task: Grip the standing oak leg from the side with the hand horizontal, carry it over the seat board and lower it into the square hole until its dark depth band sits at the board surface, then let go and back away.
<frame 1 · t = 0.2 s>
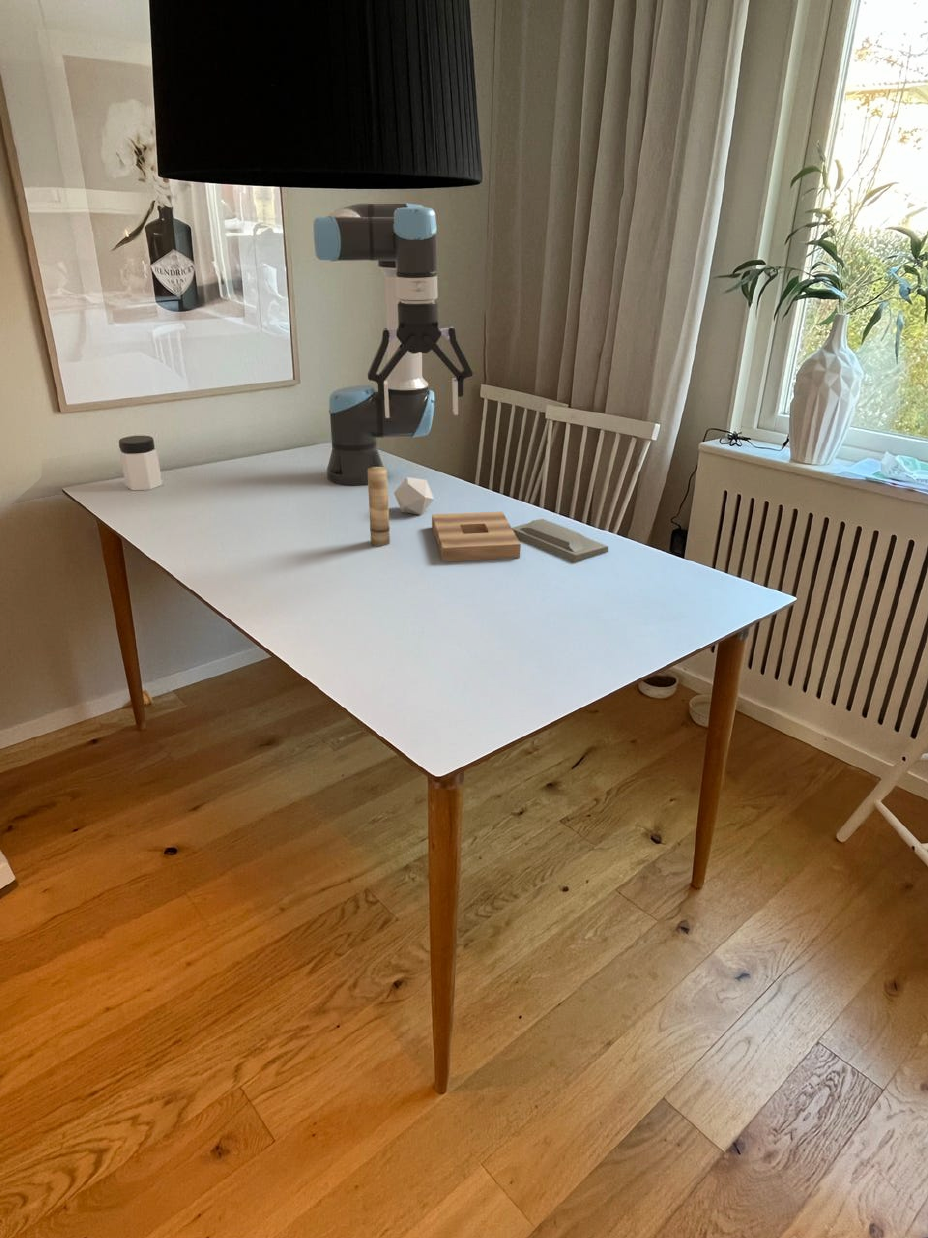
hand: (421, 414, 158), 27 cm above the table, tool pointing down, fingers open, 13 cm apart
seat board: (474, 541, 171), on the table
die: (414, 512, 188), on the table
oak leg: (380, 542, 170), on the table
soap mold: (557, 546, 171), on the table
jar: (144, 486, 204), on the table
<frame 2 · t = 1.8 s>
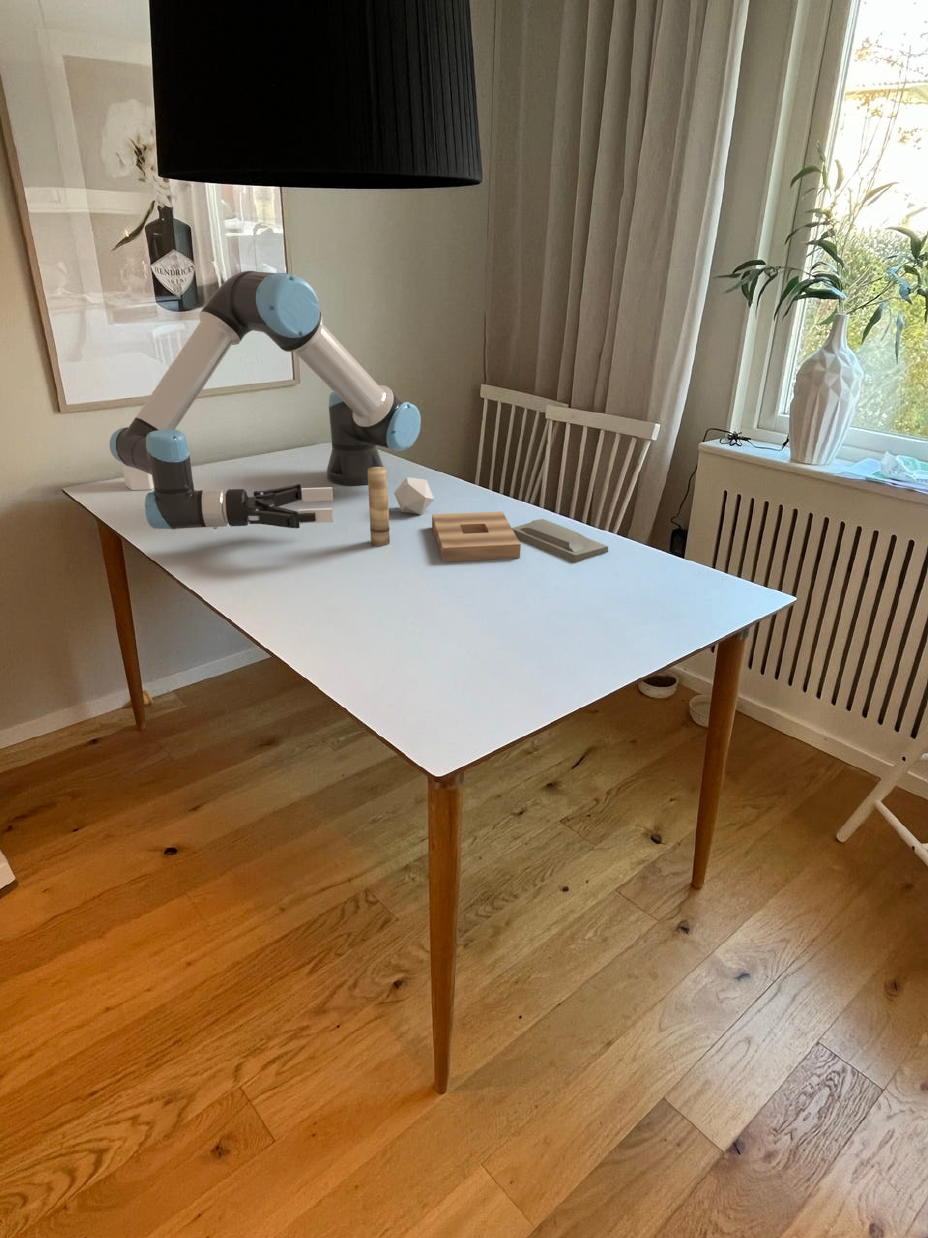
hand: (332, 504, 165), 9 cm above the table, tool horizontal, fingers open, 13 cm apart
nothing on the table moved.
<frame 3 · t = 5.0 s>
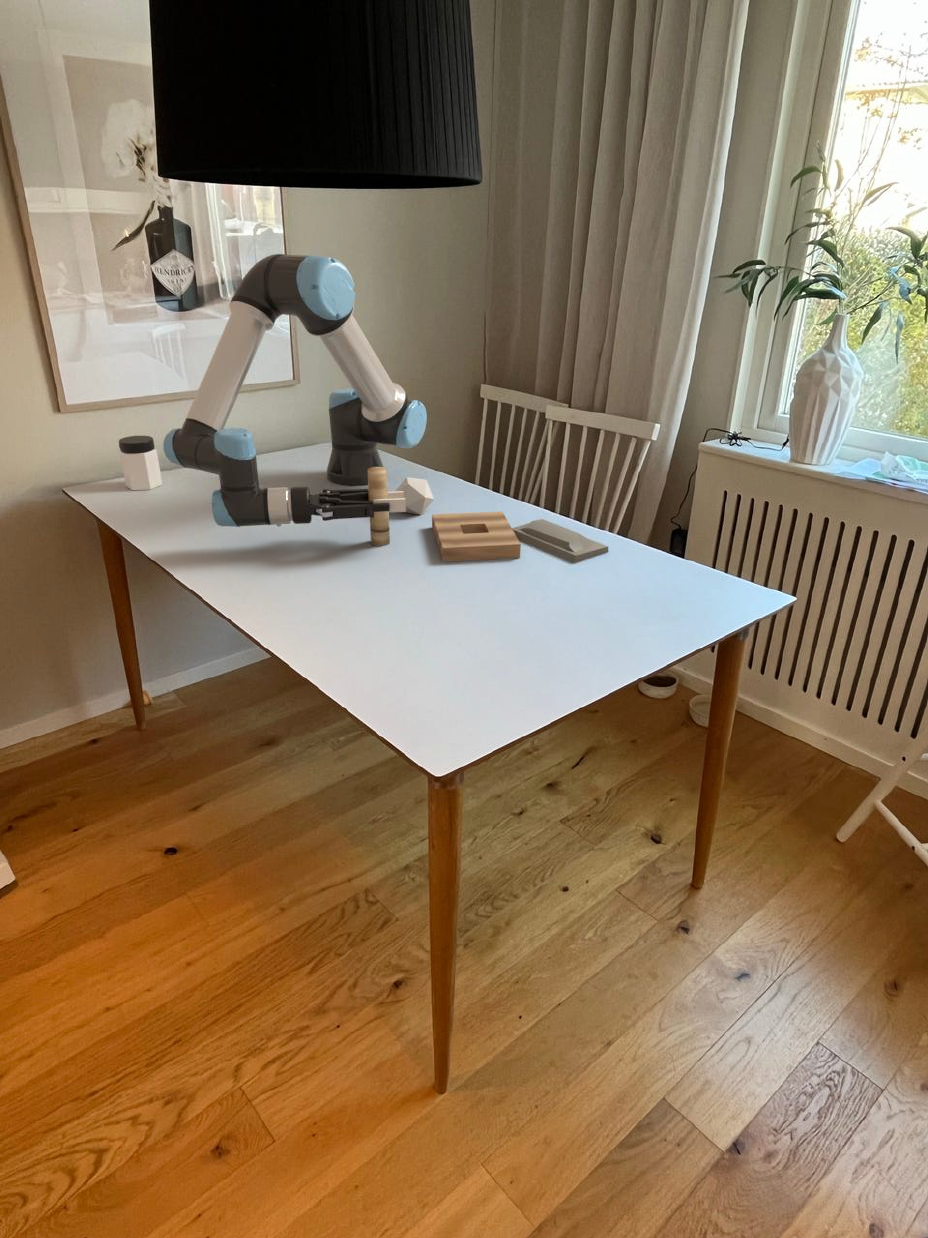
hand: (404, 501, 167), 9 cm above the table, tool horizontal, fingers closed on oak leg, 4 cm apart
oak leg: (380, 542, 170), on the table, touching gripper
everything else where it was.
when the fingers open (10 cm above the table, at t = 9.1 s): oak leg stays where it is, resting in seat board.
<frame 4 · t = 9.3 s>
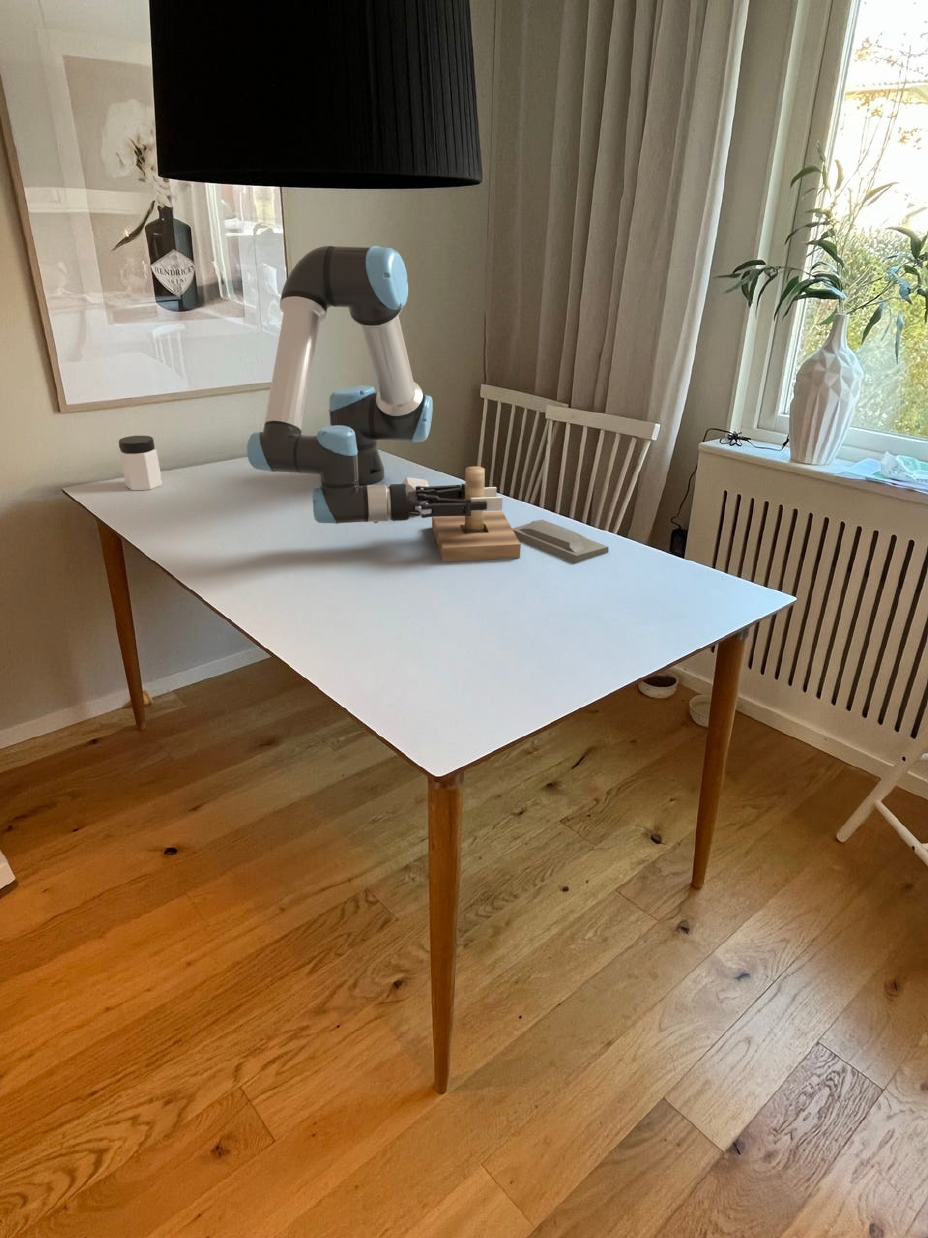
hand: (498, 498, 167), 10 cm above the table, tool horizontal, fingers open, 6 cm apart
oak leg: (473, 541, 171), resting in seat board
everything else where it was.
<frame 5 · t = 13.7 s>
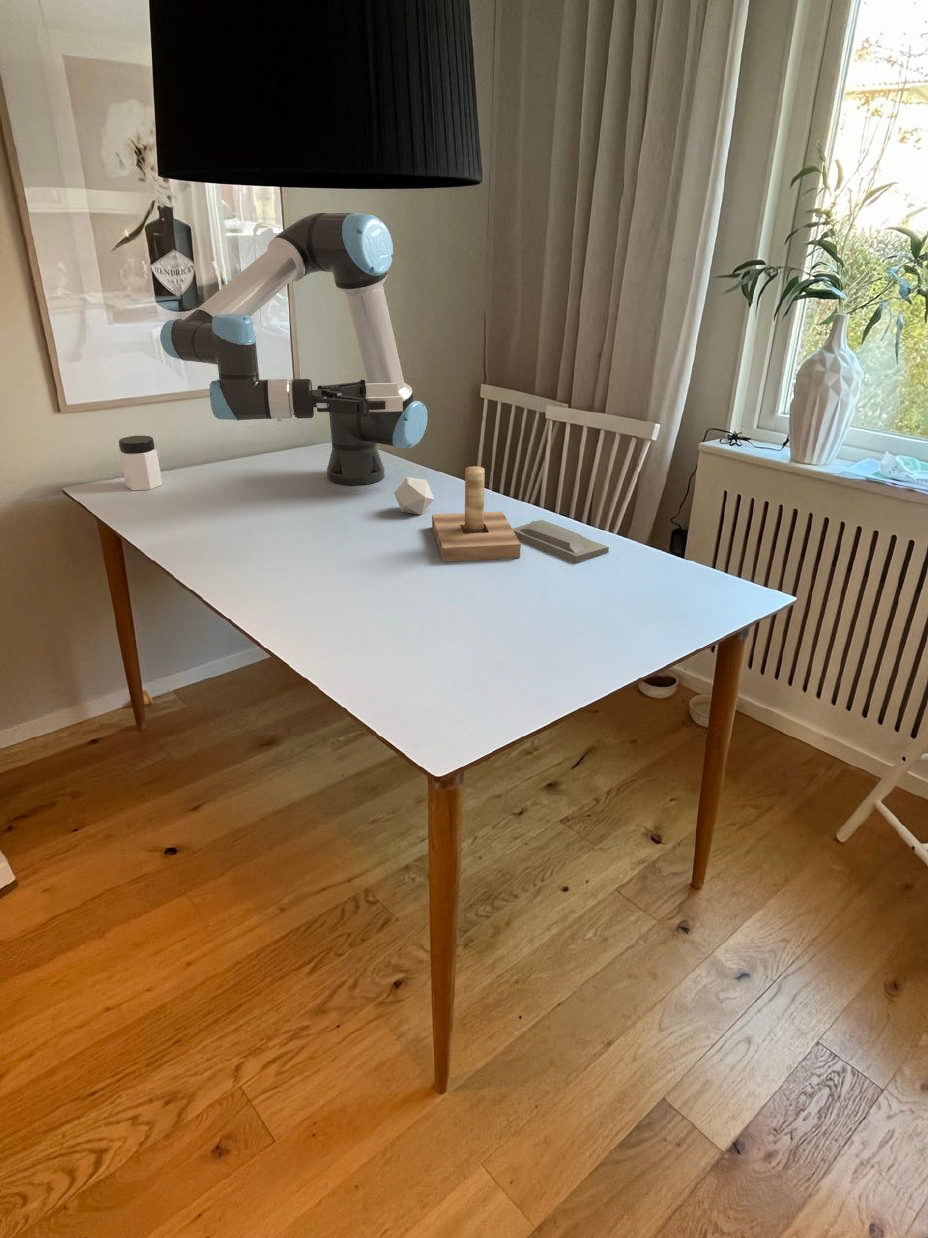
hand: (400, 396, 160), 30 cm above the table, tool horizontal, fingers open, 13 cm apart
nothing on the table moved.
at the end: oak leg 0.0 cm off-centre on the seat board, point 0.0 cm above the seat board's base; oak leg tilted 0°; the gripper is holding nothing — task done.
